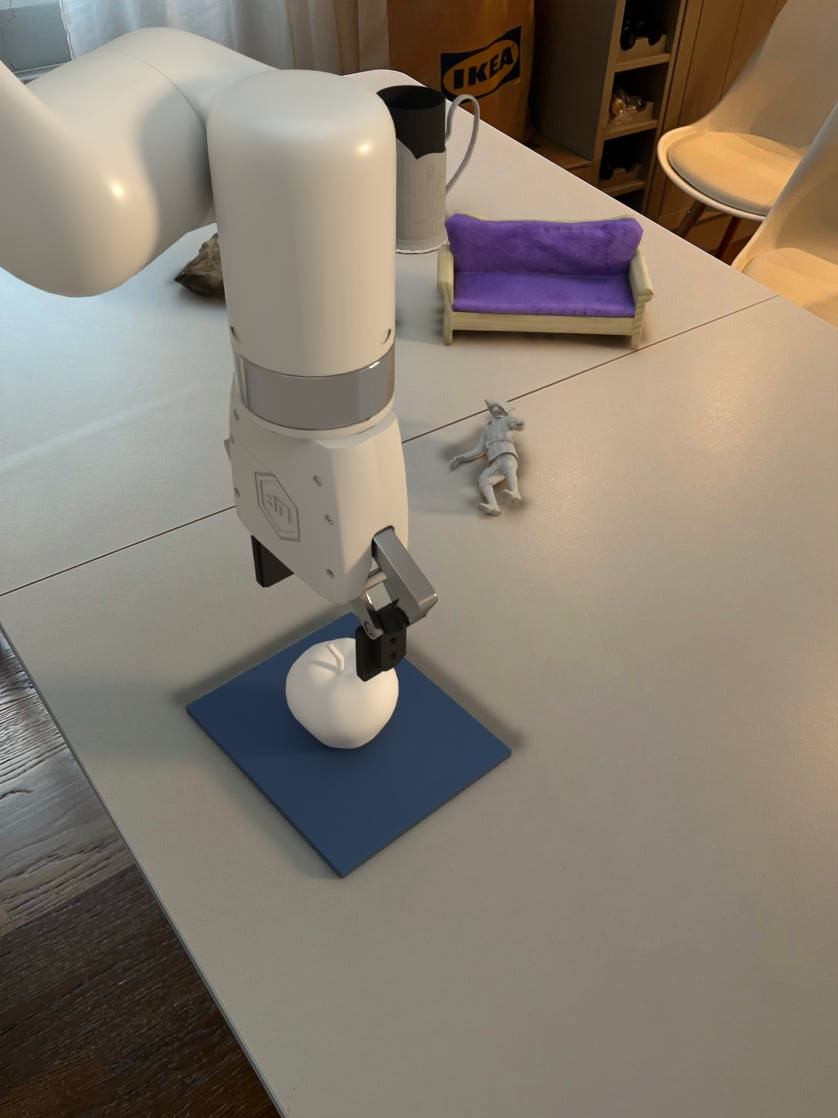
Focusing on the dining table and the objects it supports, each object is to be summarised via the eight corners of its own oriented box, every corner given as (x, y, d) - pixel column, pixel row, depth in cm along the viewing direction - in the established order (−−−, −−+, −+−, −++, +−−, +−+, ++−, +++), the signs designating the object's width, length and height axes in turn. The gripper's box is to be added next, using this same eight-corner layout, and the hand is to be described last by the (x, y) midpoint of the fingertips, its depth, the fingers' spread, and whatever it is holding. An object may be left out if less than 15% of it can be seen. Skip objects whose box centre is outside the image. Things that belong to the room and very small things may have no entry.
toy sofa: (435, 346, 103) (436, 247, 96) (437, 303, 109) (438, 206, 102) (644, 353, 104) (661, 255, 96) (634, 309, 110) (650, 214, 102)
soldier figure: (450, 524, 86) (436, 407, 91) (488, 543, 89) (472, 429, 94) (522, 482, 81) (503, 362, 86) (559, 504, 85) (539, 387, 90)
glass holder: (357, 232, 119) (351, 93, 109) (450, 201, 126) (453, 67, 116) (405, 261, 115) (404, 119, 104) (498, 227, 122) (506, 90, 111)
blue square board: (341, 879, 61) (341, 873, 61) (186, 711, 70) (185, 706, 69) (511, 755, 68) (511, 749, 68) (351, 616, 77) (351, 610, 76)
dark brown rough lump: (169, 291, 103) (271, 306, 106) (173, 221, 102) (277, 237, 104) (177, 295, 111) (272, 309, 113) (180, 230, 109) (277, 245, 111)
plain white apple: (300, 683, 71) (289, 599, 65) (403, 689, 71) (402, 606, 65) (282, 765, 66) (269, 683, 60) (394, 772, 66) (391, 690, 60)
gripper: (148, 315, 51) (194, 569, 64) (367, 489, 43) (371, 741, 56) (274, 272, 55) (294, 520, 67) (497, 425, 47) (474, 674, 59)
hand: (329, 620), depth 61 cm, fingers open, 9 cm apart
